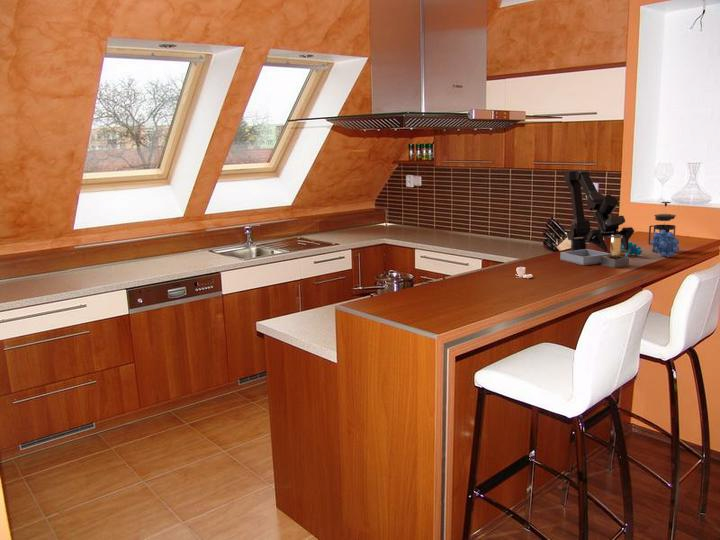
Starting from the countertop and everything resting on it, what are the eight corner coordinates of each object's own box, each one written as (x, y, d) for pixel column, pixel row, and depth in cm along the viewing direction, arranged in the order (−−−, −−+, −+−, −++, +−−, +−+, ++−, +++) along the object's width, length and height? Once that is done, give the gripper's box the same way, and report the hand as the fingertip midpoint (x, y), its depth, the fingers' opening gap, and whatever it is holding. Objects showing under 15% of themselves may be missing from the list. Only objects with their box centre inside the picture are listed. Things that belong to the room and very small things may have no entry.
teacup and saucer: (535, 279, 239) (535, 269, 238) (515, 280, 238) (515, 270, 237) (527, 275, 247) (527, 265, 247) (508, 276, 247) (508, 266, 246)
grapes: (647, 257, 270) (648, 230, 267) (652, 254, 274) (653, 228, 272) (675, 259, 262) (677, 232, 259) (680, 257, 267) (682, 230, 264)
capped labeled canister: (607, 265, 257) (608, 234, 254) (615, 264, 258) (616, 233, 256) (614, 266, 253) (615, 235, 251) (622, 265, 255) (623, 235, 252)
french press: (678, 250, 281) (681, 201, 276) (672, 254, 274) (675, 203, 270) (651, 248, 289) (654, 200, 284) (645, 251, 282) (647, 202, 277)
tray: (560, 259, 272) (560, 252, 272) (586, 256, 277) (587, 248, 277) (583, 265, 259) (583, 257, 258) (610, 261, 264) (611, 253, 263)
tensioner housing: (601, 264, 258) (601, 256, 257) (615, 262, 261) (615, 255, 260) (614, 267, 251) (614, 259, 250) (628, 265, 254) (629, 257, 253)
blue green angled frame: (647, 253, 270) (635, 239, 266) (641, 263, 268) (628, 249, 265) (627, 253, 280) (614, 239, 276) (621, 263, 278) (608, 250, 275)
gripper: (590, 210, 254) (603, 240, 245) (632, 208, 256) (646, 237, 247) (581, 226, 263) (593, 256, 255) (622, 224, 265) (635, 253, 257)
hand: (617, 250), depth 253 cm, fingers open, 9 cm apart
